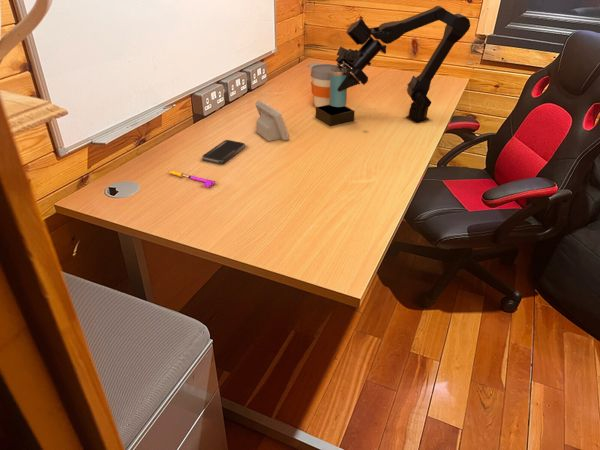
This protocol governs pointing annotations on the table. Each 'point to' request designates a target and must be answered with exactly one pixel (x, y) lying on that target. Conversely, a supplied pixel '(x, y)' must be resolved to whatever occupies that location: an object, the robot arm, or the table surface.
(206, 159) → the phone
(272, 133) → the digital clock
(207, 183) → the multicoloured piece
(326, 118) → the tray
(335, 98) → the tin
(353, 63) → the robot arm
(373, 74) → the table surface
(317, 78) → the reusable coffee cup
